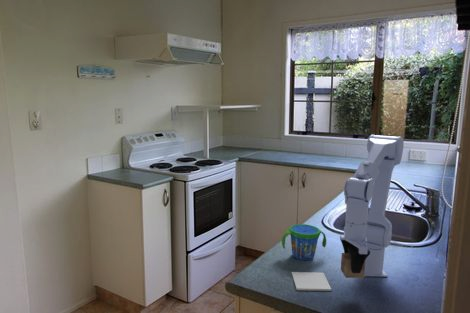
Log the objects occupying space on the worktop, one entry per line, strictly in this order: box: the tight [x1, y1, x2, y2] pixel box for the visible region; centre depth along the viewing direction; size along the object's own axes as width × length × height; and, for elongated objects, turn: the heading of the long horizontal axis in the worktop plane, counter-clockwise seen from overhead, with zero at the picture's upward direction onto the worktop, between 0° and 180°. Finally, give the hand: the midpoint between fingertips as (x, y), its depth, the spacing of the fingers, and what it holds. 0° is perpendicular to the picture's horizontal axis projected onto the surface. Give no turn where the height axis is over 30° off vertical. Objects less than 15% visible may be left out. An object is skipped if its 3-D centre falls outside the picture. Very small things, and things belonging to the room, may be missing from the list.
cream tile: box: [291, 271, 332, 292], centre depth 111 cm, size 10×10×1 cm
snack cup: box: [281, 223, 327, 261], centre depth 128 cm, size 16×10×10 cm
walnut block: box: [340, 252, 365, 279], centre depth 103 cm, size 5×5×5 cm
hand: (352, 267), depth 103 cm, fingers closed on walnut block, 5 cm apart
